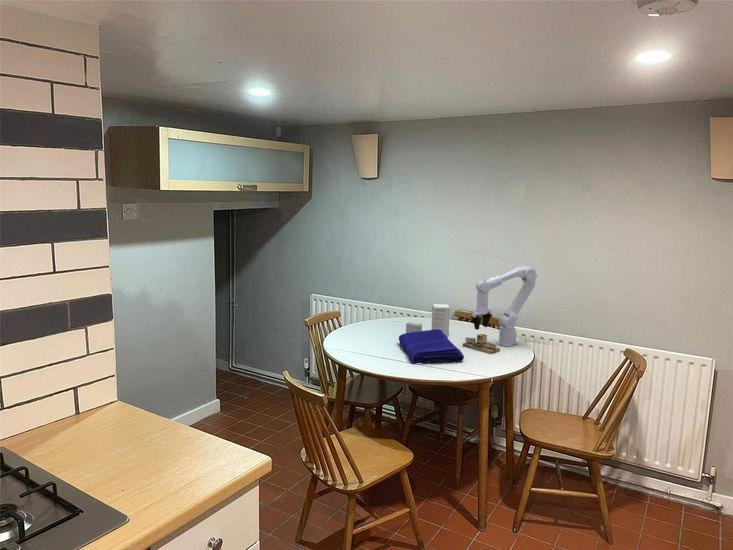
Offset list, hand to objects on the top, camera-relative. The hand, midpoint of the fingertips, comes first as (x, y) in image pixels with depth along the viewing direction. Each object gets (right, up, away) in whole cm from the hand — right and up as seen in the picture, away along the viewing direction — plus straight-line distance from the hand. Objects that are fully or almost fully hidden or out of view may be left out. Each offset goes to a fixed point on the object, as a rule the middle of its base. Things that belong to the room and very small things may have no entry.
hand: (481, 328), depth 288 cm
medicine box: (-35, -7, +13) cm, 38 cm away
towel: (-29, -12, -12) cm, 34 cm away
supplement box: (-19, -6, +22) cm, 30 cm away
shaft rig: (-1, -10, -5) cm, 11 cm away
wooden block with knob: (-1, -9, -5) cm, 10 cm away
